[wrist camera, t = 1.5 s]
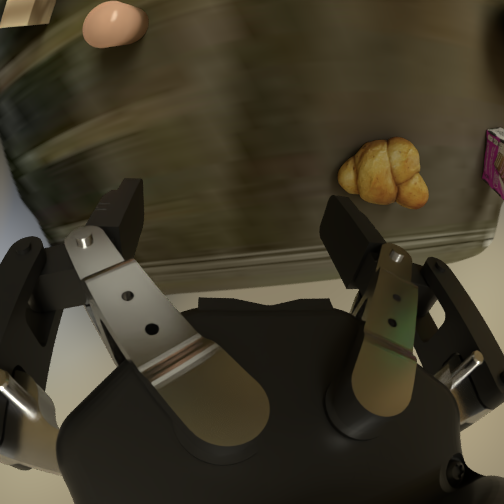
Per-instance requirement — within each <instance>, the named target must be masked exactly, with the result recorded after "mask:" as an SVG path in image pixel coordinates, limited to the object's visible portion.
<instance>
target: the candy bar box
mask: <svg viewBox="0 0 504 504" xmlns="http://www.w3.org/2000/svg"><path fill="white" fill-rule="evenodd" d="M482 179H483V180H484V181H485V182H486V183H487V184H488V185H489V186H490V187H491V188H492V189H493V190H494V191H495V192H496V193H497V194H498V195H499V196H500V197H501V198H502V199H503V200H504V129H503V128H501V127H498V128H493V129H488V130H487V135H486V149H485V160H484V168H483V176H482Z"/></svg>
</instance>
